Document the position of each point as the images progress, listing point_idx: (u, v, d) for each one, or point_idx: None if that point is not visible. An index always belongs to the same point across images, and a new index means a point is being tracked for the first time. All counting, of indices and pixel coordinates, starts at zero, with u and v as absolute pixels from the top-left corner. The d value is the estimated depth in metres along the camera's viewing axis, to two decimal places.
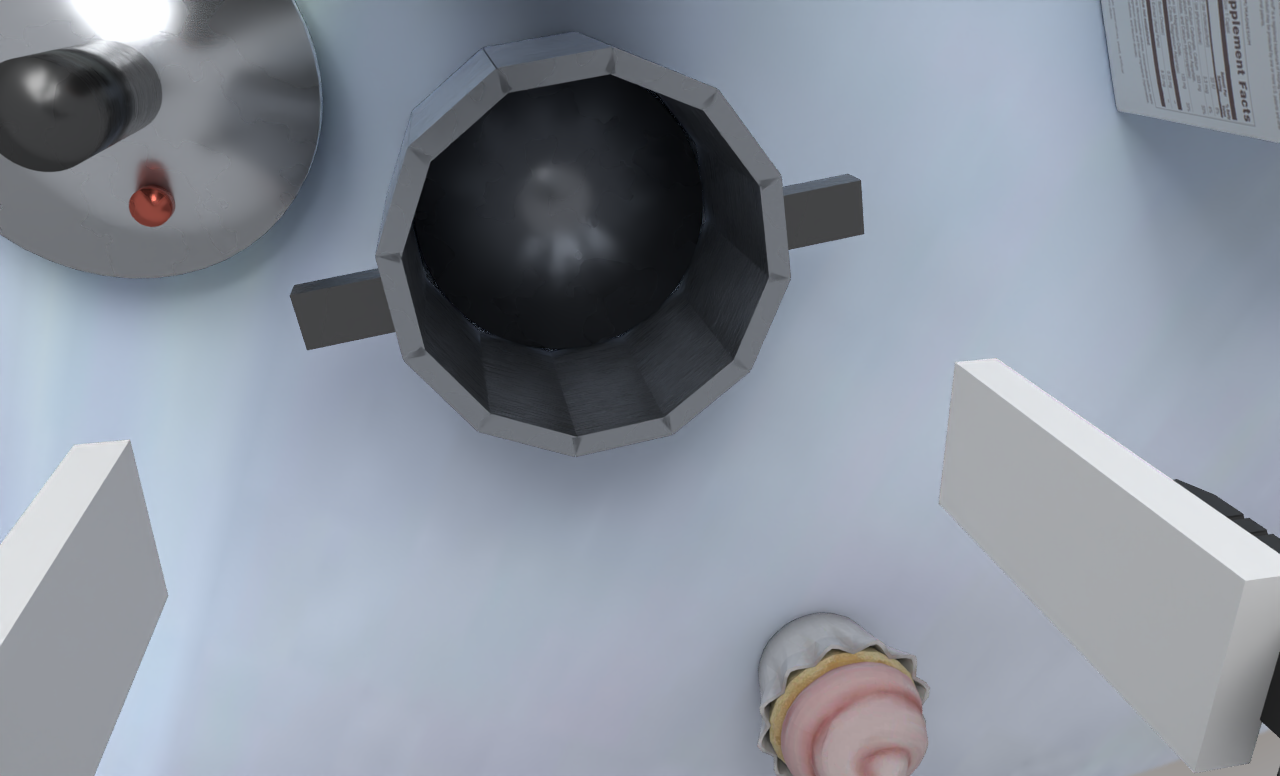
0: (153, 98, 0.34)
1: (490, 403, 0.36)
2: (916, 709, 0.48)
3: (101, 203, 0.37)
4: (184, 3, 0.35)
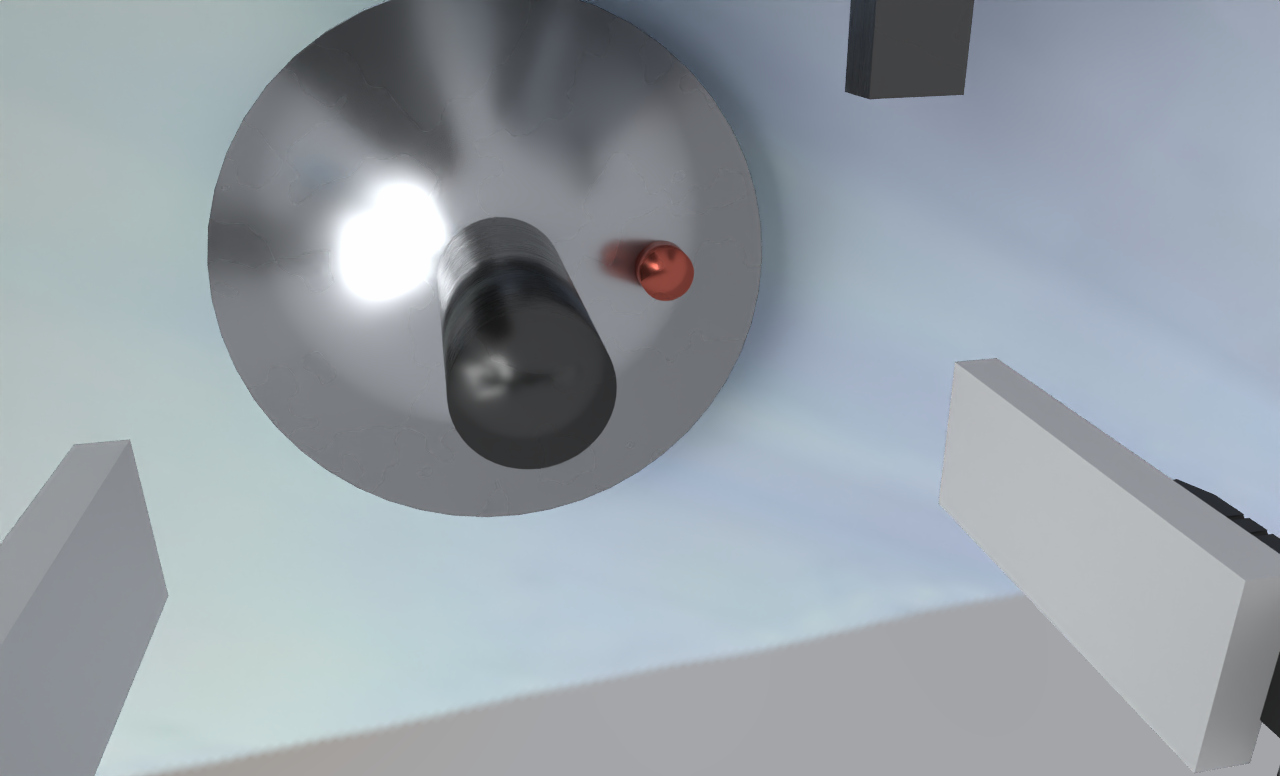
0: (521, 231, 0.24)
1: None
2: None
3: (648, 331, 0.27)
4: (394, 156, 0.24)
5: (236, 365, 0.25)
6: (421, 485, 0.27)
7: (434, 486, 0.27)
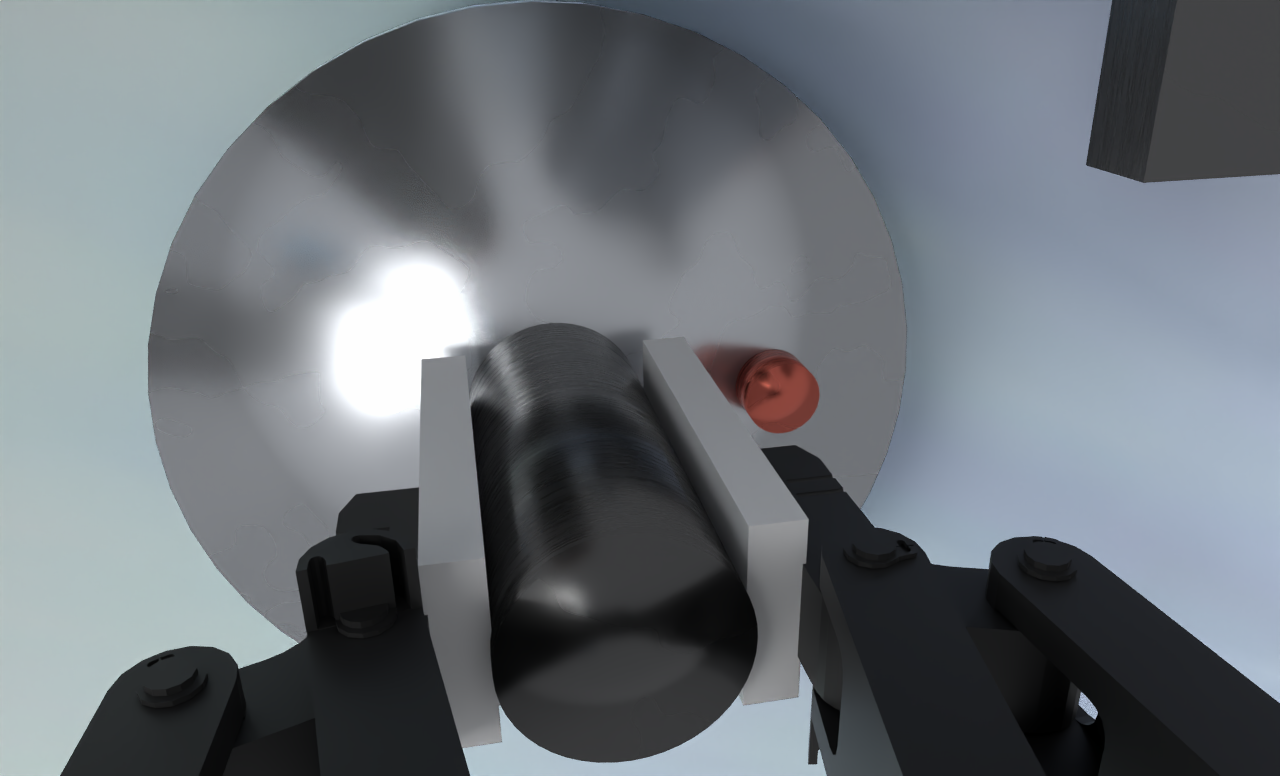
0: (587, 349, 0.17)
1: None
2: None
3: None
4: (410, 243, 0.17)
5: (192, 524, 0.18)
6: None
7: None
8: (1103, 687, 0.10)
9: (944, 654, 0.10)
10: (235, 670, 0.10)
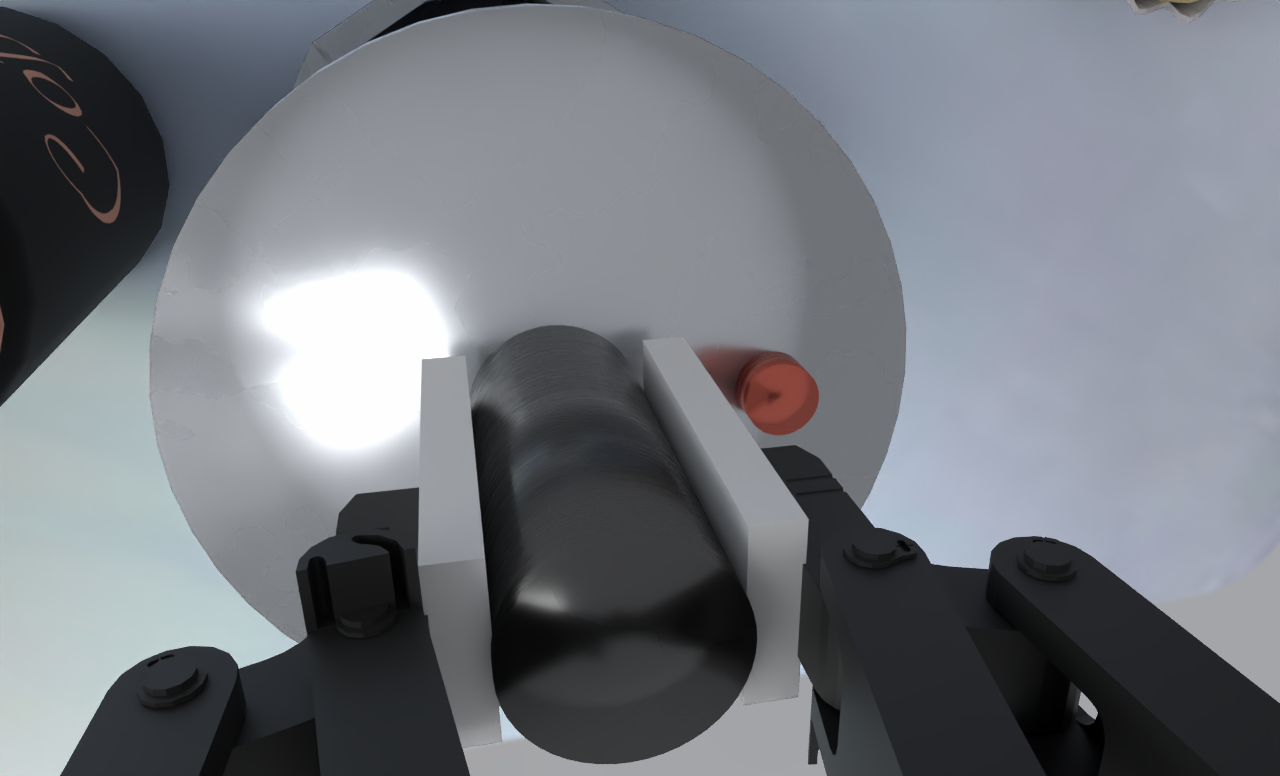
0: (588, 351, 0.17)
1: None
2: None
3: None
4: (410, 246, 0.17)
5: (194, 526, 0.18)
6: None
7: None
8: (1103, 687, 0.10)
9: (944, 654, 0.10)
10: (235, 670, 0.10)
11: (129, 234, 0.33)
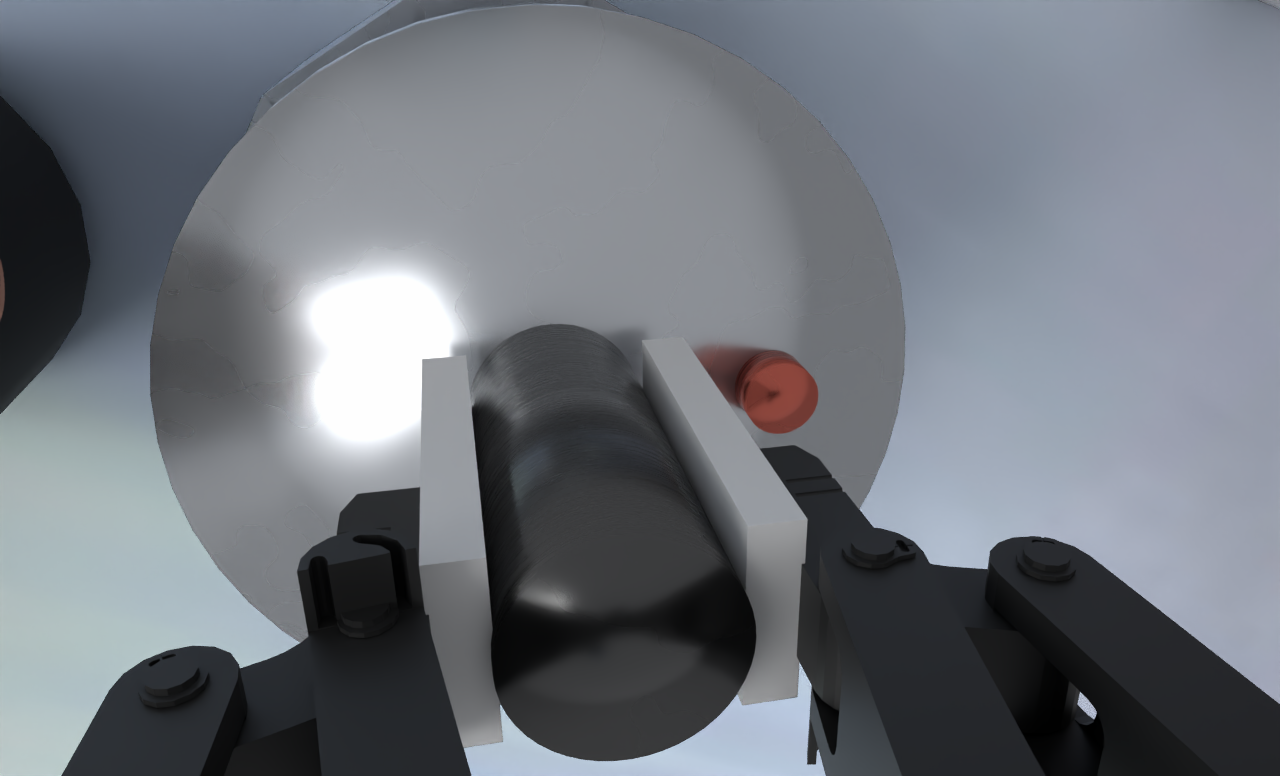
0: (587, 350, 0.17)
1: None
2: None
3: None
4: (410, 245, 0.17)
5: (194, 525, 0.18)
6: None
7: None
8: (1102, 687, 0.10)
9: (943, 654, 0.10)
10: (236, 670, 0.10)
11: (22, 341, 0.24)
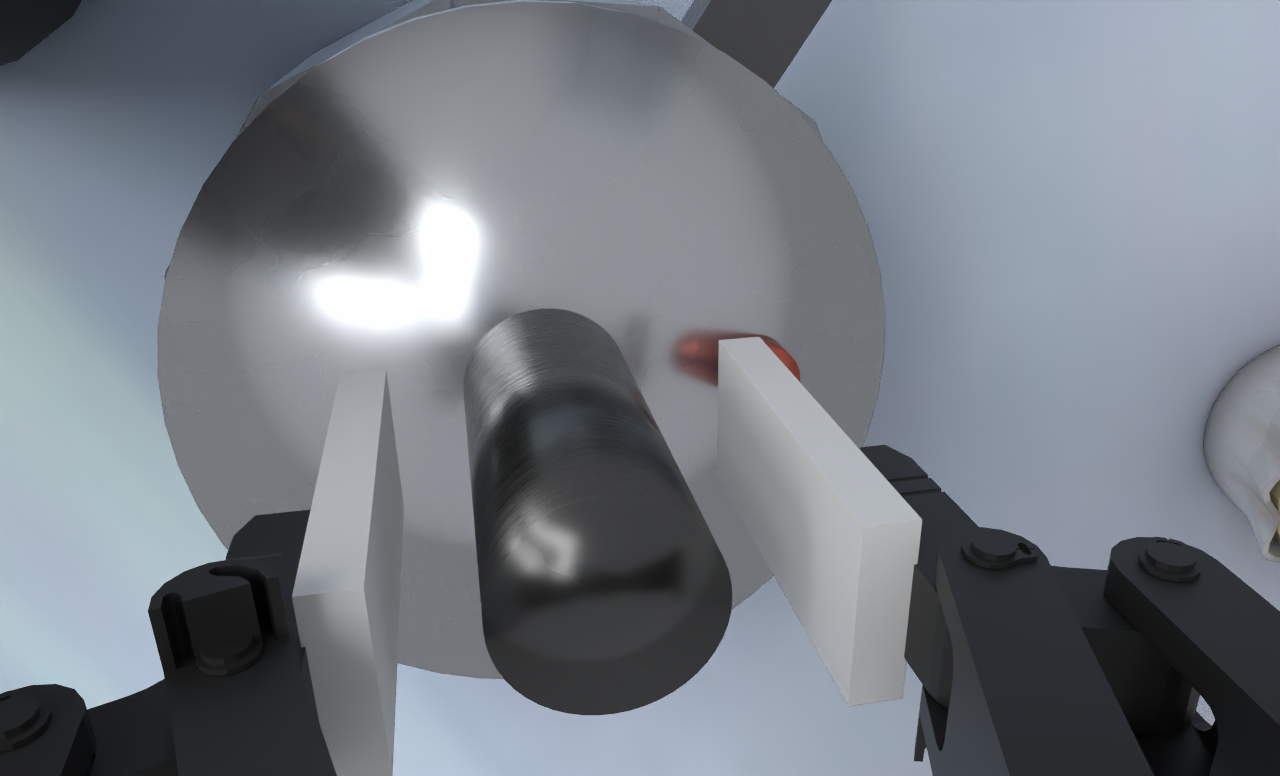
0: (577, 332, 0.18)
1: None
2: None
3: None
4: (407, 232, 0.18)
5: (199, 502, 0.19)
6: (441, 644, 0.21)
7: (457, 644, 0.21)
8: (1219, 686, 0.10)
9: (1059, 657, 0.10)
10: (81, 706, 0.09)
11: None
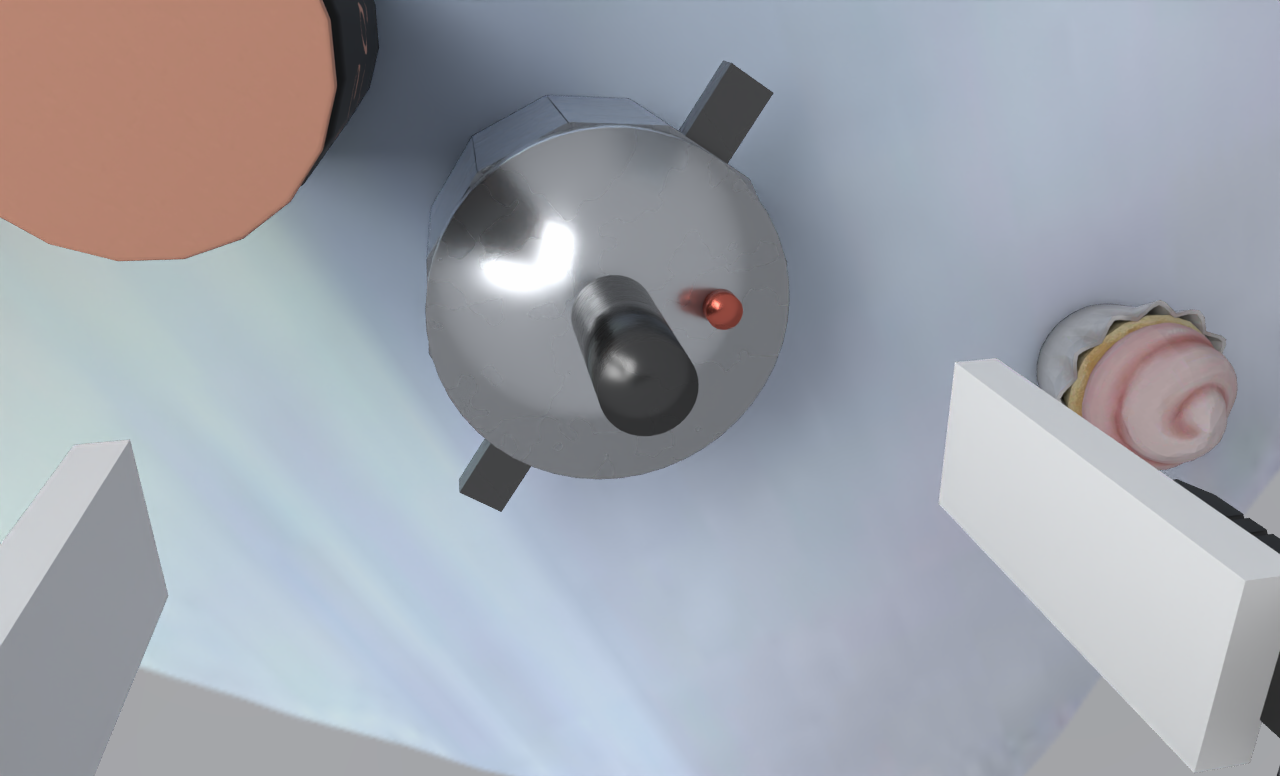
0: (629, 285, 0.36)
1: None
2: (1191, 345, 0.46)
3: (711, 350, 0.39)
4: (546, 237, 0.36)
5: (438, 374, 0.38)
6: (555, 456, 0.40)
7: (564, 457, 0.40)
8: None
9: None
10: None
11: None
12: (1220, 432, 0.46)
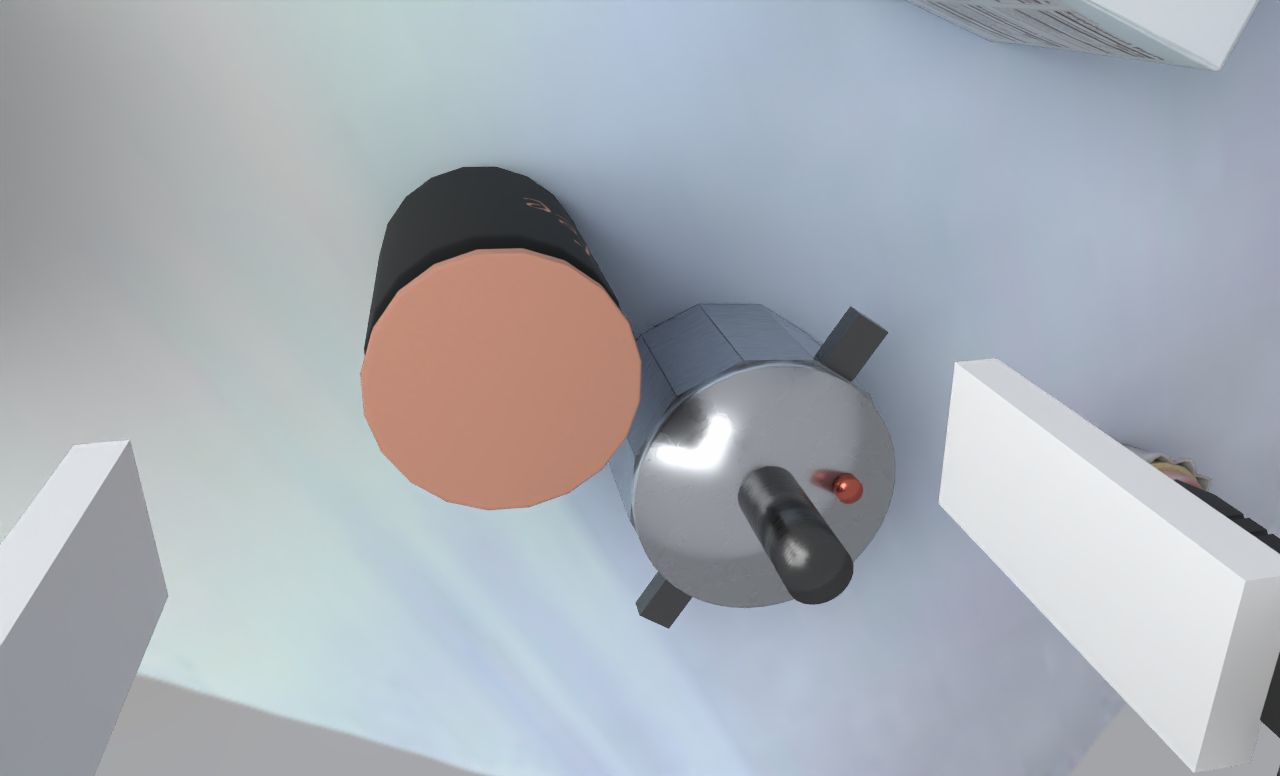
0: (786, 478, 0.50)
1: None
2: None
3: (836, 515, 0.53)
4: (725, 442, 0.50)
5: (639, 537, 0.51)
6: (718, 592, 0.53)
7: (724, 593, 0.53)
8: None
9: None
10: None
11: None
12: None
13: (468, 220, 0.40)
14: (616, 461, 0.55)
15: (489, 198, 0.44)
